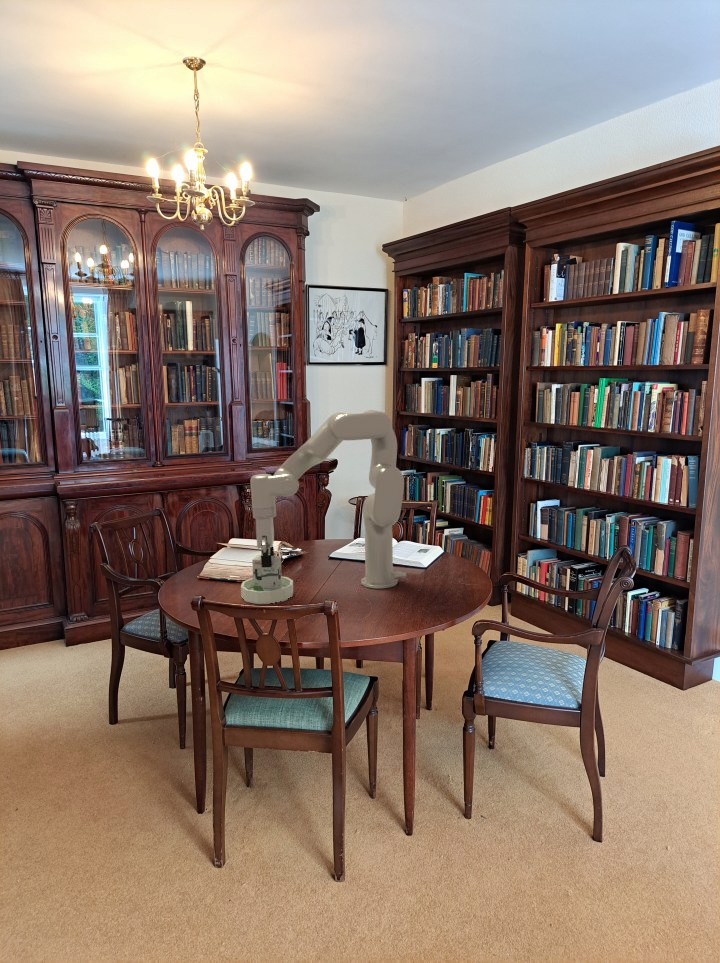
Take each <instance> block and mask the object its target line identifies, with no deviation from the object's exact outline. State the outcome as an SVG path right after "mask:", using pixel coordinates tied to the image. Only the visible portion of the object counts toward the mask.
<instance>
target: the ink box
mask: <svg viewBox="0 0 720 963" xmlns="http://www.w3.org/2000/svg"><path fill="white" fill-rule="evenodd" d="M271 561H272V567H262V563H261V554H259V555H256V556H255V557H254V558H253V559H252V578H253V590H254V591H273V590H277V589H282V557H281V556H279V555H278V556H277V555H274V556H271Z"/></svg>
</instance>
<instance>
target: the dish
mask: <svg viewBox="0 0 720 963" xmlns="http://www.w3.org/2000/svg"><path fill="white" fill-rule="evenodd" d="M281 576H282V575H281ZM240 595H241V596H240V597H242V598H243V599H244V600H243V599H242V598H241V599H242V600H243V601H244V602H246V603H251V604H256V605H268V604H270V603H273V604H276V603H275V602H277V603H281V602H285V601H287V600H289V599H290V597H291V598H292V597H293V596H294V580H293V579H291V578H290V577H288V576H282V589H277V590H273V591H254V590H253V577H250V578H248V579H246V580H244V581H242V582H241V585H240ZM288 598H289V599H288ZM280 601H281V602H280ZM270 605H271V604H270Z"/></svg>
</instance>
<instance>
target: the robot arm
mask: <svg viewBox="0 0 720 963" xmlns="http://www.w3.org/2000/svg"><path fill="white" fill-rule="evenodd" d="M361 440H362V441H363V440H370V441H371V460H370V467H369V473H368V481H369V484H370V485H371V487H373V488H374V489H375V490H374V493H372V494H370V495H368V496H367V497H365V499H364V501H363V504H362V516H363V517H362V518H363V525H364V555H365V556H364V564H365V568H364V569H365V576H364V577H362V578H361V581H360V582H361V585H362V586H364V587H365V588H369V589H378V590H379V589H389V588H393V587H395V586H396V585H397V584H398V579H407V572H403V571H396V570H394V567H393V566H394V565H393V564H394V562H393V553H394V552H393V551H394V550H393V540H394V537H393V536H394V535H393V525H395V524H397V522H398V521H399V518H400V516H401V511H402V505H403V497H404V496H403V495H404V489H405V488H404V487H405V480H404V475H403V473H402V471H401V470H400V469H399V468H398V467H397V457H398V456H397V454H398V442H397V441H398V439H397V436H396V433H395V431H394V429H393V422H392V419H391V417H390V415H389V414H387V413H385V412H383V411H379V410H374V409H369V410H365V411H364V412H362V413H344V412H335V413H333V414H331V415H330V416H329V417H328V418H327V419H326V420H325V422H323V423H322V425H321V426H320V427H319V428H318V429H317V430H316V431H315V432H314V433H313V434H312V435H311V436H310V438H308V440H306V441H305V443H303V444H302V445H301V446H300V447H299V448H298V449H297V450H296V451H294V453H292V454H291V455H290V456H289V457H288V458H286V460H285V461H284V462H283V463H282V464H281V466H279V467H278V469H277V470H276V471H275V472H274V474H273V475H272V474H269V473H259V474H255V475H254V474H253V475H252V476H251V478H250V493H251V494H250V495H251V505H252V506H251V507H252V509H251V510H252V518H253V519H255V524H256V525H255V528H256V533H255V534H256V548H257V549H258V550H259V549H260V555H261V563H262V567H272V561H271V556H275V548H274V547H275V546H273V545H274V541H275V530H274V518H276V517H277V506H276V497H291V496H293V495H295V494H297V492H298V490H299V487H300V483H299V479H300V478H301V477H302V476H303V475H304V474H305V472H307V471H309V469H311V468H313V467H315V466H316V465H319V464H321V463H323V462H325V461H326V460H327V458H328V457H330V455H331V454H332V453H333V452H334V451H335V450H336V449H337V447H338V446H340V444H341V443H342V442H343V441H361Z"/></svg>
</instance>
